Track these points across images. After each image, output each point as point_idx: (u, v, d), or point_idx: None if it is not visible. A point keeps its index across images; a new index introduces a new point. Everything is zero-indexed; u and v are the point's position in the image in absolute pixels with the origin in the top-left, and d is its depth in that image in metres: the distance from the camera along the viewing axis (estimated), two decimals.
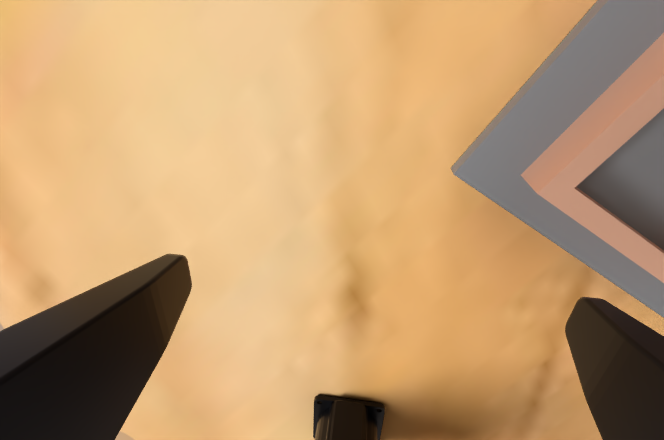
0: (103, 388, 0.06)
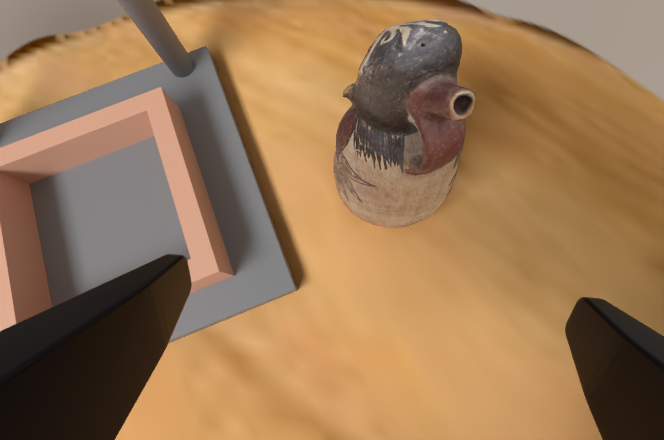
0: (103, 388, 0.06)
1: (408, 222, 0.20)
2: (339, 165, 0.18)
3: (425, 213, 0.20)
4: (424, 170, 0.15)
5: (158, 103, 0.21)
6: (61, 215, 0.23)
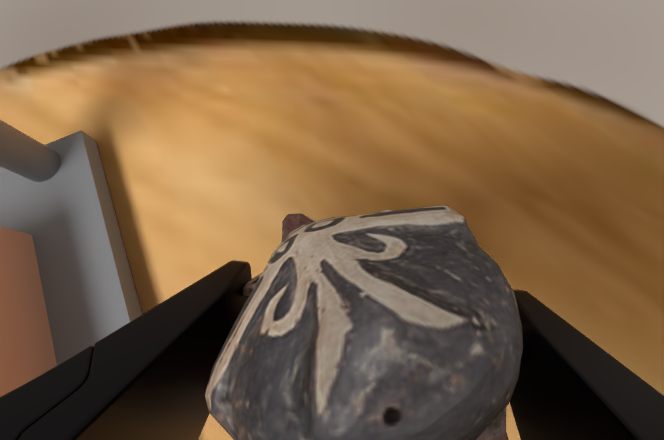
0: (187, 400, 0.06)
1: None
2: None
3: None
4: None
5: None
6: None
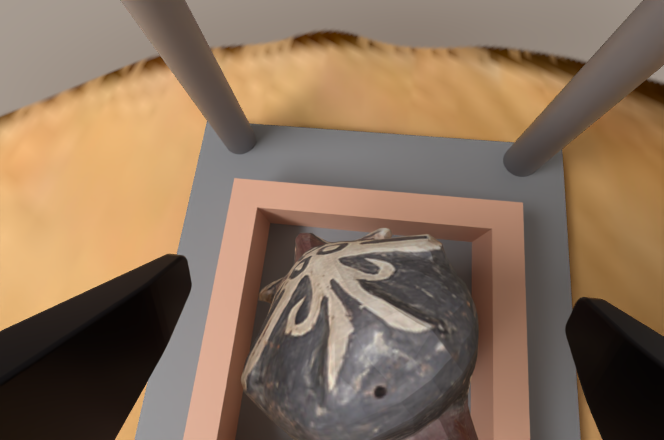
0: (103, 388, 0.06)
1: None
2: None
3: None
4: None
5: (512, 226, 0.14)
6: None
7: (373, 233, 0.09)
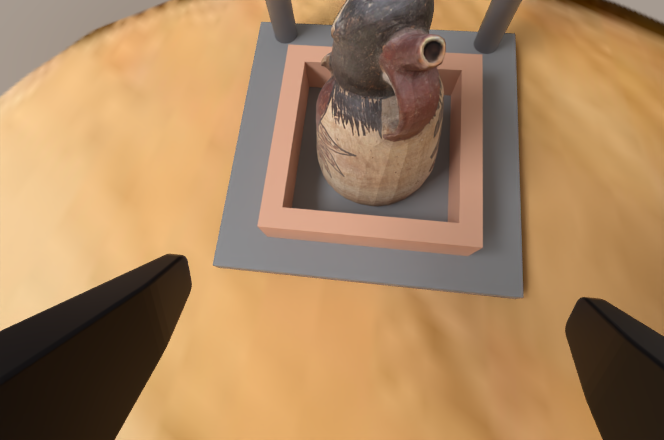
0: (103, 388, 0.06)
1: (392, 198, 0.20)
2: (319, 137, 0.18)
3: (408, 188, 0.20)
4: (401, 132, 0.15)
5: (475, 68, 0.22)
6: None
7: None
